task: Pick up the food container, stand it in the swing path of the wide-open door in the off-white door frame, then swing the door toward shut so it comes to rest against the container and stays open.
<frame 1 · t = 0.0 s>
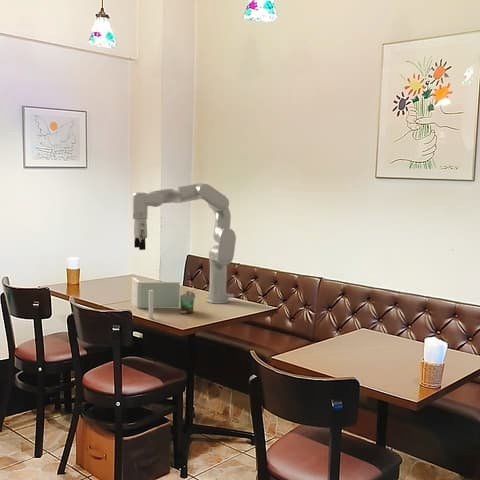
hand: (139, 248, 311), 31 cm above the table, tool pointing down, fingers open, 9 cm apart
food container: (188, 312, 305), on the table
door frame: (139, 308, 310), on the table
door: (160, 294, 312), point 7 cm above the table, hinge at 75.0°
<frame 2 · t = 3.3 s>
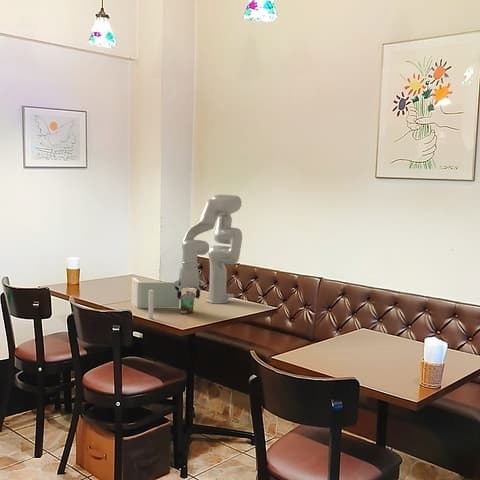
hand: (188, 298, 304), 8 cm above the table, tool pointing down, fingers open, 9 cm apart
nothing on the table moved.
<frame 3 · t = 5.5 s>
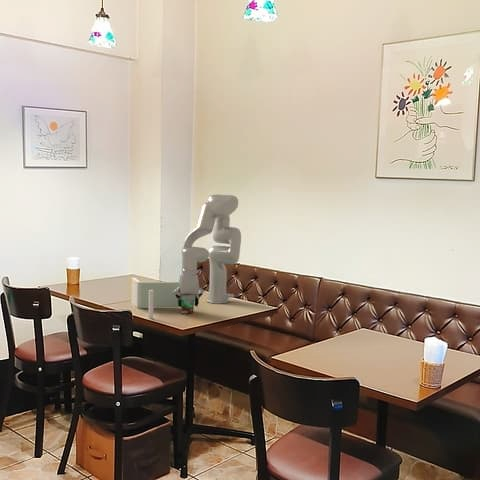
hand: (188, 306, 304), 3 cm above the table, tool pointing down, fingers closed on food container, 8 cm apart
food container: (189, 312, 305), on the table, touching gripper
everything else where it was.
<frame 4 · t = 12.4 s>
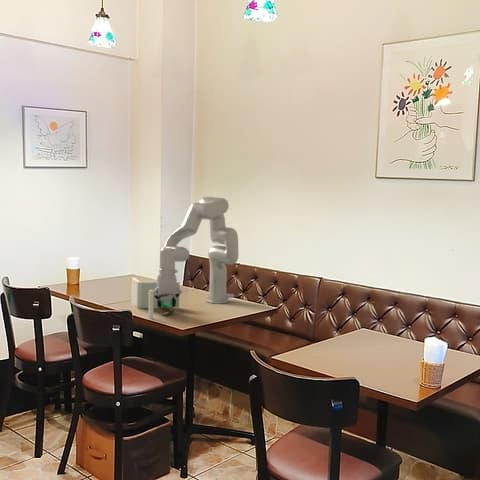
hand: (166, 306, 300), 4 cm above the table, tool pointing down, fingers closed on food container, 6 cm apart
food container: (169, 313, 301), on the table, touching gripper
everything else where it was.
when the fingers open (4 cm above the table, at t = 12.8 s): food container stays where it is, on the table.
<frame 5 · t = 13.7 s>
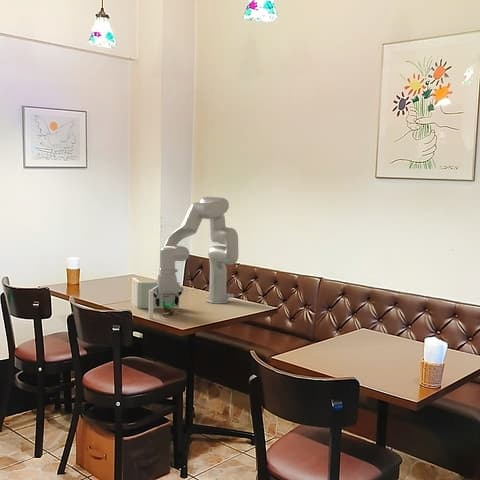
hand: (167, 305, 300), 5 cm above the table, tool pointing down, fingers open, 9 cm apart
food container: (169, 314, 301), on the table, touching gripper
everything else where it was.
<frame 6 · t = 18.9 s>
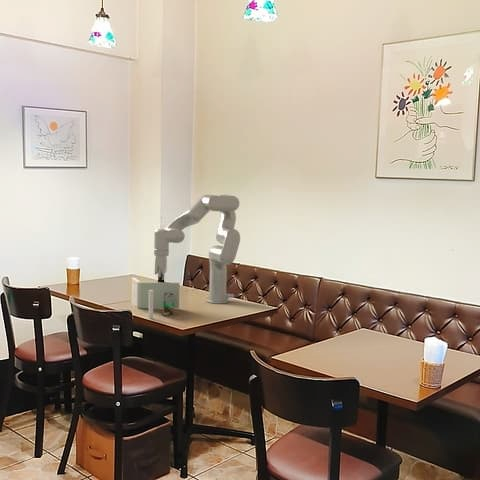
hand: (161, 286, 313), 11 cm above the table, tool pointing down, fingers closed
food container: (169, 314, 301), on the table
door: (160, 295, 311), point 7 cm above the table, hinge at 68.7°, touching gripper
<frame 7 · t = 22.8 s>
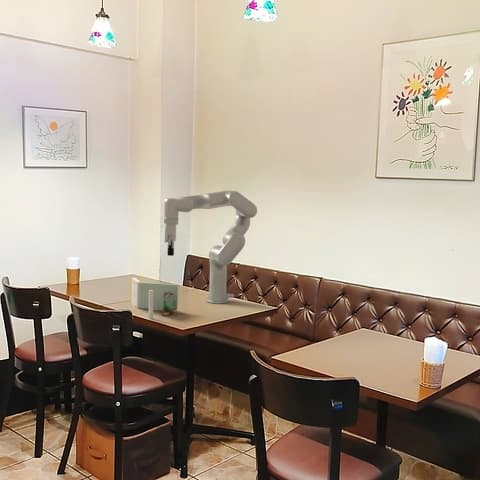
hand: (170, 255, 318), 27 cm above the table, tool pointing down, fingers closed
door: (159, 296, 308), point 7 cm above the table, hinge at 54.5°
everything else where it was.
at the end: door at +54° (first picture: +75°); food container inside the target area (2.2 cm from its centre), on the table; food container tilted 0° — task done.
